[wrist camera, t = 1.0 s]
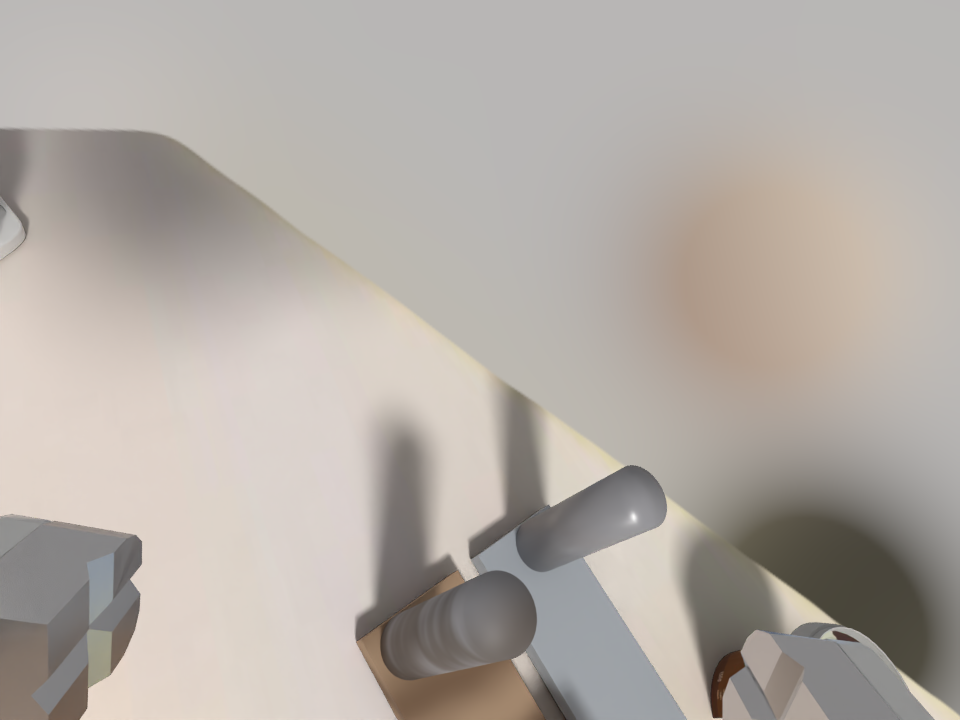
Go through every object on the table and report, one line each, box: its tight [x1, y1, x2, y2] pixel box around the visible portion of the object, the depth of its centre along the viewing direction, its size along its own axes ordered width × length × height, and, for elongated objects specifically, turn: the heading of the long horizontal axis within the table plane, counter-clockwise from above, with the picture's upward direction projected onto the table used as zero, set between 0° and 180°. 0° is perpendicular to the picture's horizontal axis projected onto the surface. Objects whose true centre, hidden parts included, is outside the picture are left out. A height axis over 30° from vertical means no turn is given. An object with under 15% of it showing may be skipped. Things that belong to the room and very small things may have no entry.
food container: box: [711, 622, 909, 718], centre depth 46 cm, size 12×6×10 cm, turn 91°
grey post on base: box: [471, 465, 687, 720], centre depth 38 cm, size 22×8×13 cm, turn 38°
